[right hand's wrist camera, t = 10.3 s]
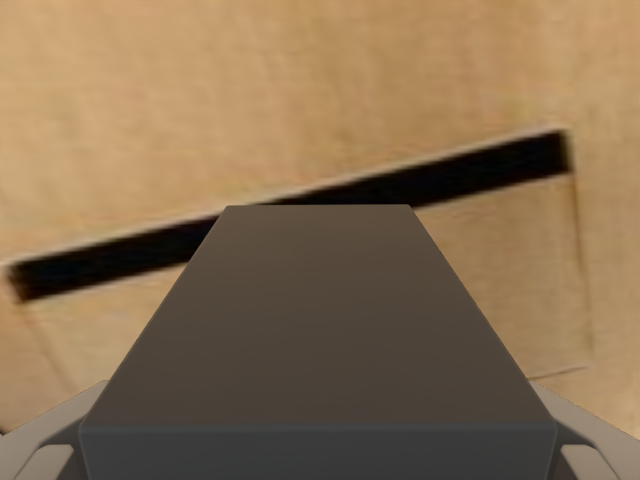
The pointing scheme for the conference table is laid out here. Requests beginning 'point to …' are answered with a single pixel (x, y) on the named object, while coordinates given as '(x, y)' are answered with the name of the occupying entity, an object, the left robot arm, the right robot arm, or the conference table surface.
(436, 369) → the bar
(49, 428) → the right robot arm
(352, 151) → the conference table surface
